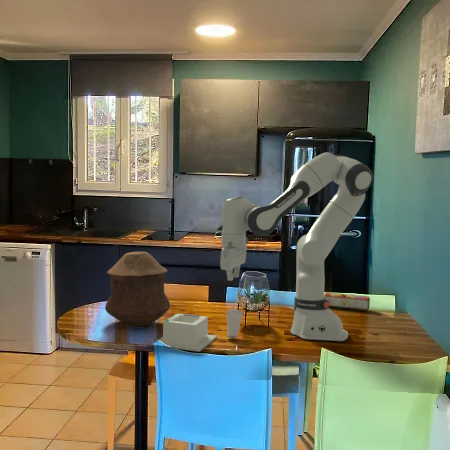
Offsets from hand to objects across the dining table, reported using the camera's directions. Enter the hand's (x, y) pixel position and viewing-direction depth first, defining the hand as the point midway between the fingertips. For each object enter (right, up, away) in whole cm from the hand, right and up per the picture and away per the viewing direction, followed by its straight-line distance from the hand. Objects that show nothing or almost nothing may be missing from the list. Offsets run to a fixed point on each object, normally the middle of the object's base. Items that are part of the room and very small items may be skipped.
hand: (233, 278), depth 192 cm
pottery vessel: (-38, -21, +17) cm, 47 cm away
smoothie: (0, -22, +3) cm, 22 cm away
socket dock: (-17, -23, -1) cm, 29 cm away
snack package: (+61, -15, +50) cm, 80 cm away
